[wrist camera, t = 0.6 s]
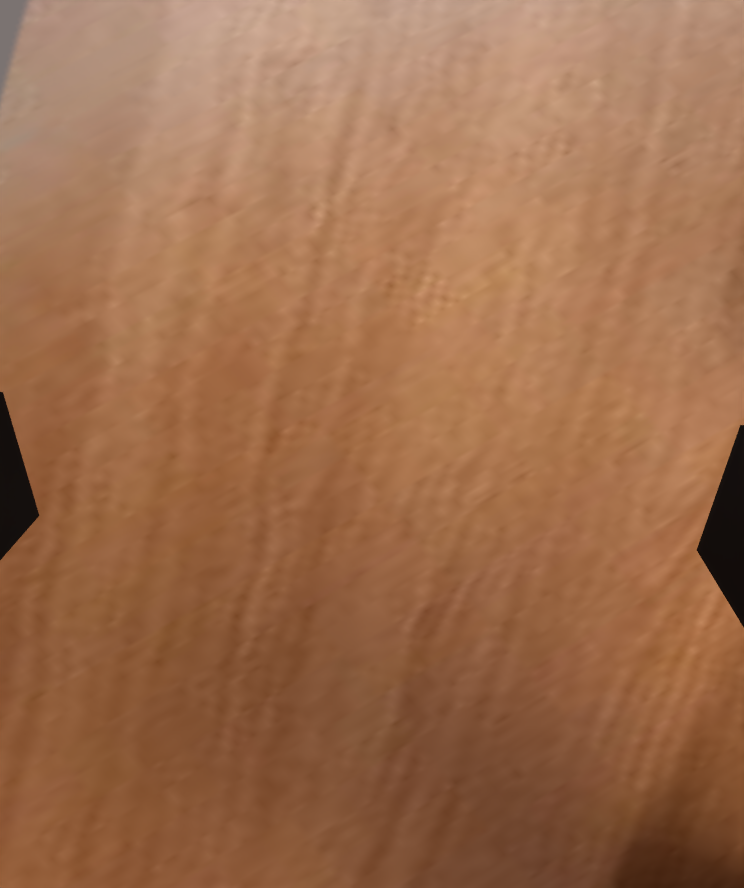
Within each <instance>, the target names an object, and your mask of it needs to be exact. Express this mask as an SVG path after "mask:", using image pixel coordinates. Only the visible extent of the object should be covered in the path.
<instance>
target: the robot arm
mask: <svg viewBox="0 0 744 888" xmlns="http://www.w3.org/2000/svg"><path fill="white" fill-rule="evenodd" d="M38 516H39V513H38V510H37V506H36V503H35V499H34V496H33V493H32V489H31V486H30V483H29V479H28V476H27V472H26V469H25V466H24V462H23V459H22V455H21V452H20V449H19V445H18V442H17V439H16V435H15V432H14V428H13V425H12V422H11V418H10V415H9V411H8V408H7V405H6V401H5V398H4V395H3V392H0V560H1V559H2V558H3V557H4V555H5V554H6V553H7V552H8V551H9V550H10V549H11V547H12V546H13V545H14V544H15V543H16V542H17V541H18V539H19V538H20V537H21V536H22V535H23V534H24V532H25V531H26V530H27V529H28V528H29V527H30V526H31V524H32V523H33V522H34V521H35V520H36V519H37V518H38ZM697 551H698V553H699V555H700V556H701V558H702V560H703V561H704V563H705V565H706V566H707V568H708V569H709V571H710V573H711V574H712V576H713V578H714V579H715V581H716V583H717V584H718V586H719V588H720V589H721V591H722V592H723V594H724V596H725V597H726V599H727V601H728V602H729V604H730V606H731V607H732V609H733V611H734V612H735V614H736V615H737V617H738V619H739V620H740V622H741V624H742V625H743V627H744V425H740V428H739V431H738V434H737V436H736V439H735V442H734V445H733V448H732V451H731V454H730V456H729V459H728V462H727V465H726V468H725V471H724V474H723V476H722V479H721V482H720V485H719V488H718V491H717V494H716V496H715V499H714V502H713V505H712V508H711V511H710V514H709V516H708V519H707V522H706V525H705V528H704V531H703V534H702V536H701V539H700V542H699V545H698V548H697Z"/></svg>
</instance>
